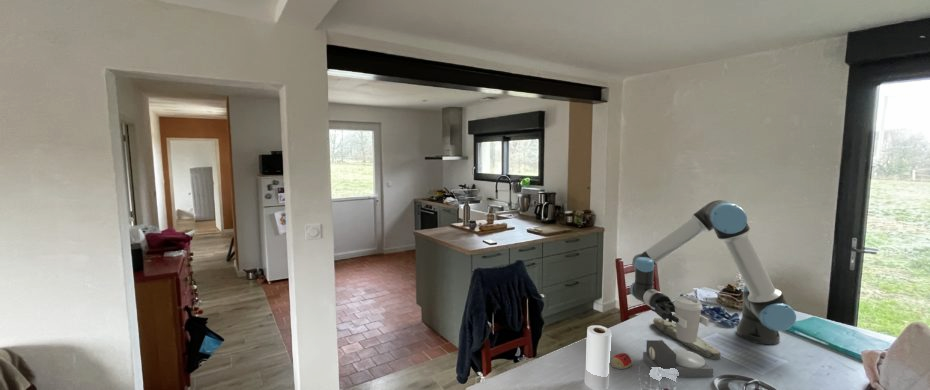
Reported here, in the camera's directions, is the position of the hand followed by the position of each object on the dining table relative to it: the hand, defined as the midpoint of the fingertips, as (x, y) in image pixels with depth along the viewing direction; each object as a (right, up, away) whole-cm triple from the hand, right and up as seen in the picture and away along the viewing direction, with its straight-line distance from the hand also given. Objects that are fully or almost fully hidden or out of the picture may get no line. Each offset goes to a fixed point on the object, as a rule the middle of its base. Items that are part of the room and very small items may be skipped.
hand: (696, 323), depth 138 cm
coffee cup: (-1, -8, +5) cm, 9 cm away
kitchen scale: (-4, -19, +6) cm, 20 cm away
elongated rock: (+12, -17, +29) cm, 36 cm away
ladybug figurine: (-23, -19, +10) cm, 32 cm away
